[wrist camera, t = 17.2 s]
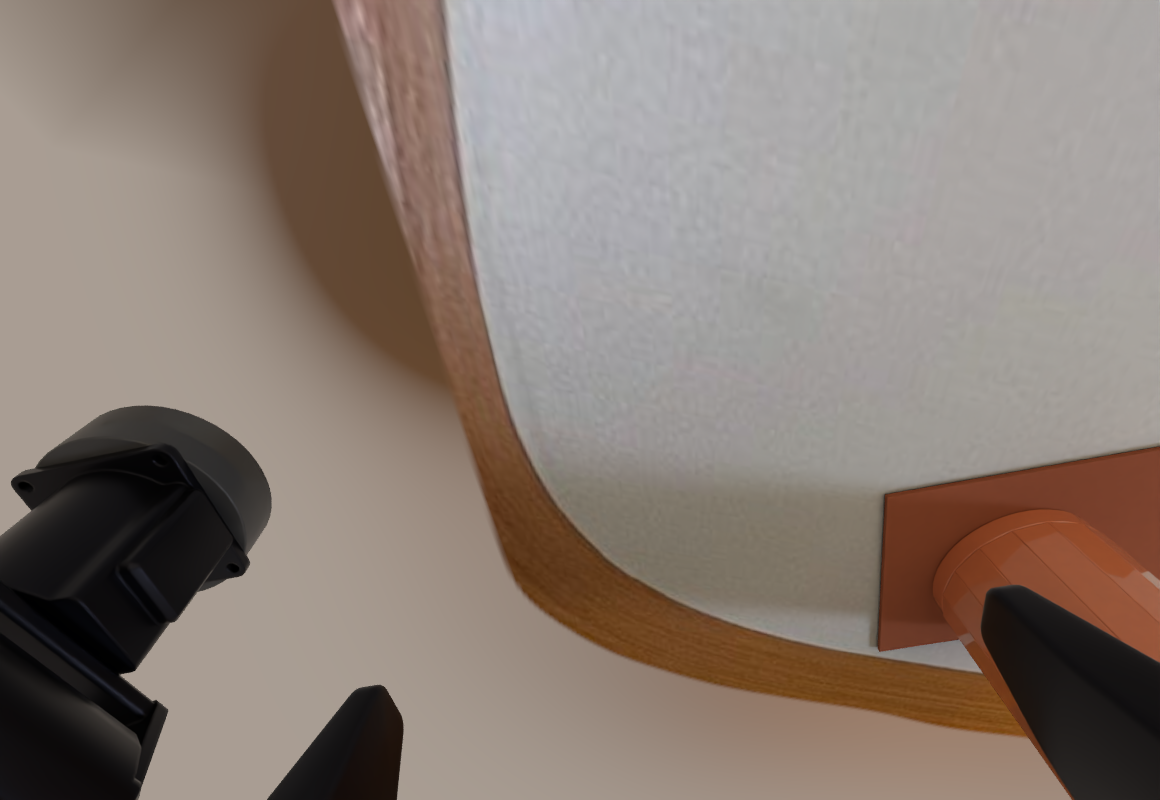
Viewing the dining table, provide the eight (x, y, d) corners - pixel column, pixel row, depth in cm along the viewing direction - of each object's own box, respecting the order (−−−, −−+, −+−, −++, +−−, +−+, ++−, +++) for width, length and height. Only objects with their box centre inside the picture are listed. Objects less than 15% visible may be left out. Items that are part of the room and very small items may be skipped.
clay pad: (877, 648, 27) (879, 651, 27) (885, 494, 23) (887, 497, 22) (1155, 605, 26) (1159, 609, 26) (1218, 436, 22) (1223, 438, 21)
